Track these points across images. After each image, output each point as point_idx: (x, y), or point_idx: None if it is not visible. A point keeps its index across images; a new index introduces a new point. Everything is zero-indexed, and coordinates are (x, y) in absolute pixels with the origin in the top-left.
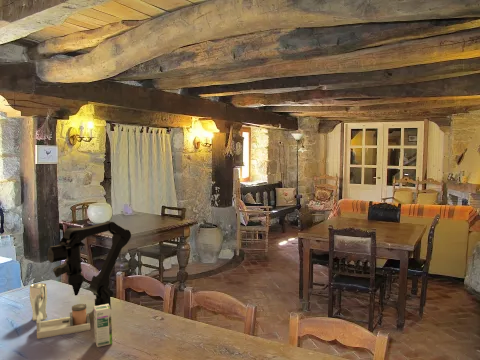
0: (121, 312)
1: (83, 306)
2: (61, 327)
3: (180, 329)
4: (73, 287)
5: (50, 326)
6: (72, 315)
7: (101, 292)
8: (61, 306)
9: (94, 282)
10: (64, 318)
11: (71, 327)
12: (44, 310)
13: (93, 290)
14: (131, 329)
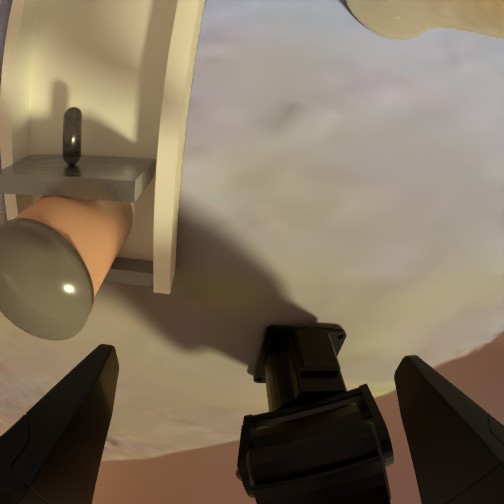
0: (197, 398)
1: (24, 317)
2: (97, 95)
3: None
4: (6, 442)
5: (156, 21)
6: (46, 198)
7: (238, 455)
8: (487, 168)
9: (326, 495)
10: (164, 124)
11: (2, 167)
12: (390, 3)
13: (305, 436)
14: (22, 372)
